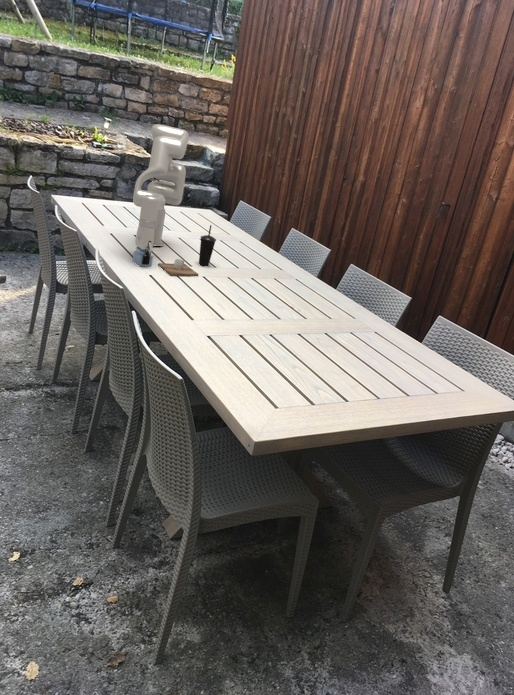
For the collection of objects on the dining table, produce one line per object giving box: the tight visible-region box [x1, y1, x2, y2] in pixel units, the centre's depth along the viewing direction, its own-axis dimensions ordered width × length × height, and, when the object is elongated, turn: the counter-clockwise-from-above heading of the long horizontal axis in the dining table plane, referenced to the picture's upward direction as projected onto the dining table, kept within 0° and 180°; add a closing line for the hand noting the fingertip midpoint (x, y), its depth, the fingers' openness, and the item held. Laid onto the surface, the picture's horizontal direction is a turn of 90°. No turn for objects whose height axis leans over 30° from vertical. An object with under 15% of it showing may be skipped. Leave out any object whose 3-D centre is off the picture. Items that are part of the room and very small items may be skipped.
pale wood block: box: [173, 258, 185, 270], centre depth 268 cm, size 3×3×4 cm
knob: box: [132, 247, 154, 267], centre depth 266 cm, size 7×7×7 cm
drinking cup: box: [198, 224, 217, 267], centre depth 283 cm, size 8×8×20 cm
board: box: [157, 262, 199, 277], centre depth 269 cm, size 14×14×1 cm
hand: (142, 261), depth 267 cm, fingers closed on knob, 6 cm apart
